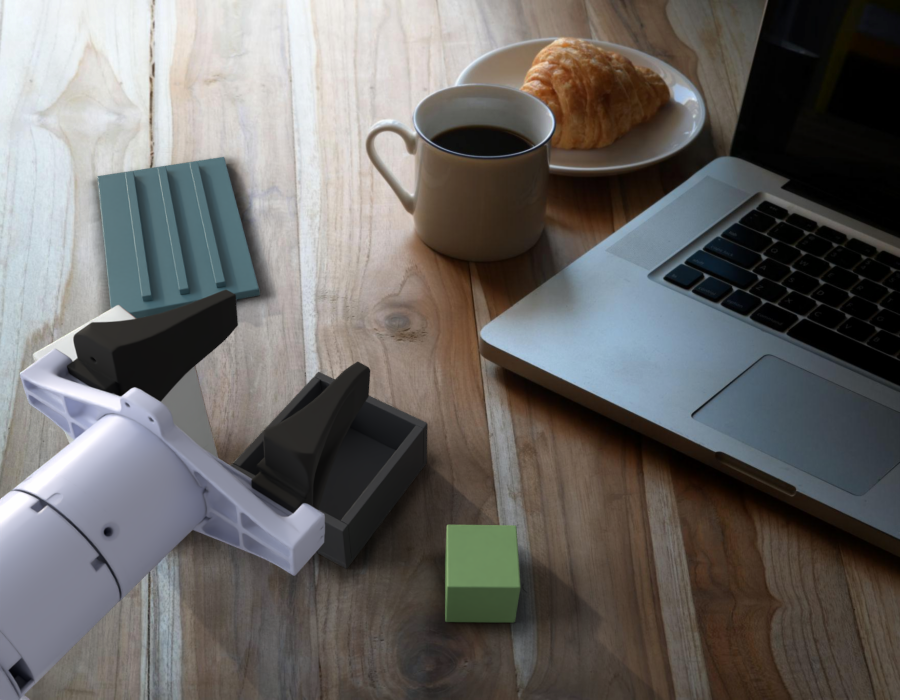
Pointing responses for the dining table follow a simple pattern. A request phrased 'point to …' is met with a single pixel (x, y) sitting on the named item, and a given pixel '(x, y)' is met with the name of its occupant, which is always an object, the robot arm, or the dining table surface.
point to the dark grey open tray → (357, 469)
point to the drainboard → (173, 237)
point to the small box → (180, 400)
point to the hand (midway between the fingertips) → (295, 342)
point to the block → (481, 573)
